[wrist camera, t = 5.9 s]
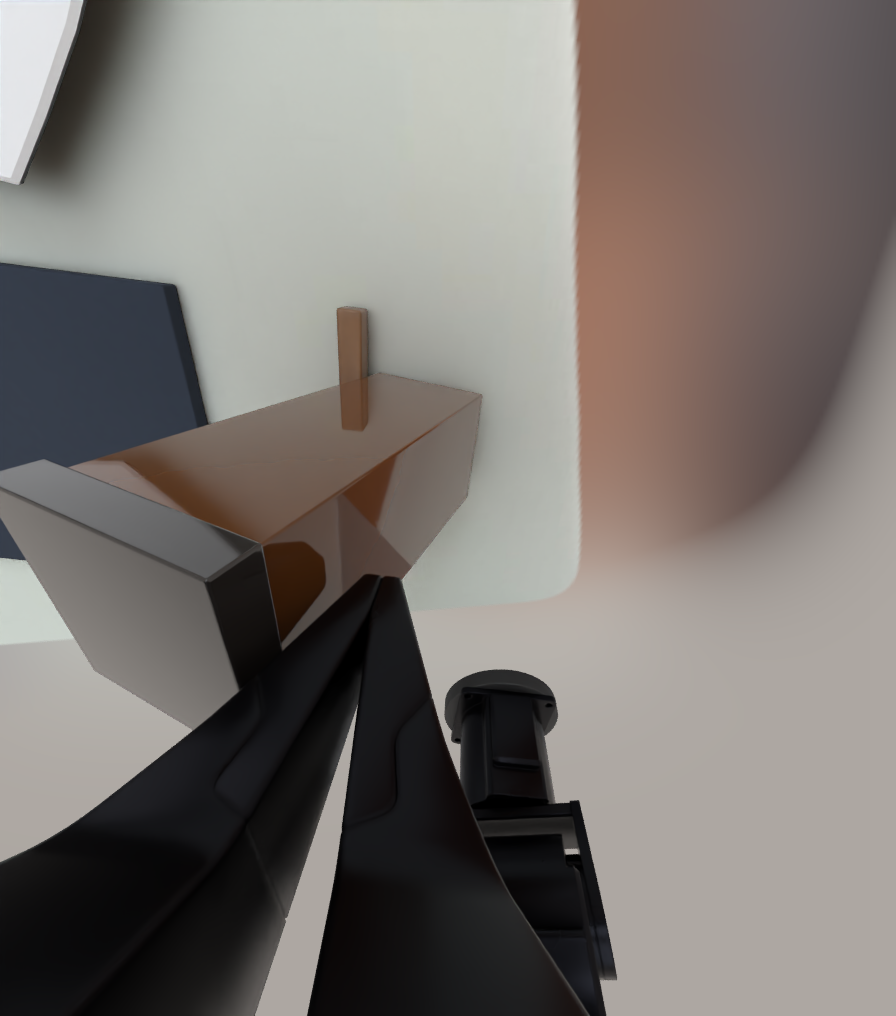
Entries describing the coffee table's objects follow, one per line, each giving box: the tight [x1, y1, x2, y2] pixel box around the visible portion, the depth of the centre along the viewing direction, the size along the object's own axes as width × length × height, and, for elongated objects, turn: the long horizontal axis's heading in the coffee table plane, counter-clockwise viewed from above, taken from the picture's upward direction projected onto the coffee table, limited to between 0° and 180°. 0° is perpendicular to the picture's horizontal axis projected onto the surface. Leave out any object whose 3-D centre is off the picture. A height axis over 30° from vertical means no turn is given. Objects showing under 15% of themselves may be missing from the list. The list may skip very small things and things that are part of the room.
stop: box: [337, 306, 368, 385], centre depth 18 cm, size 10×1×1 cm, turn 174°
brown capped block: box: [0, 373, 482, 730], centre depth 12 cm, size 5×5×13 cm
